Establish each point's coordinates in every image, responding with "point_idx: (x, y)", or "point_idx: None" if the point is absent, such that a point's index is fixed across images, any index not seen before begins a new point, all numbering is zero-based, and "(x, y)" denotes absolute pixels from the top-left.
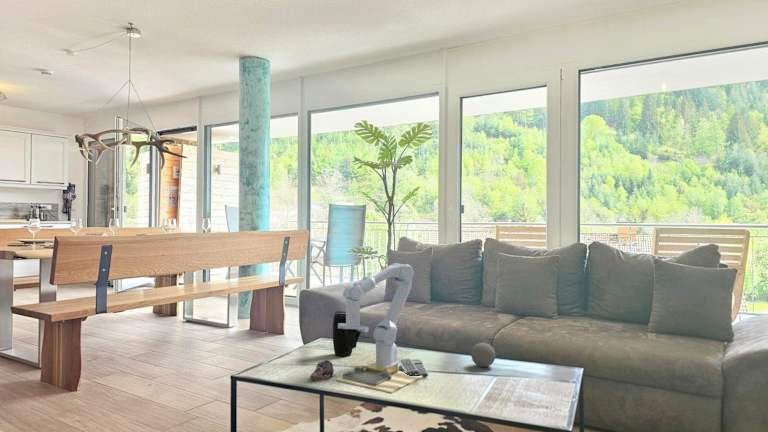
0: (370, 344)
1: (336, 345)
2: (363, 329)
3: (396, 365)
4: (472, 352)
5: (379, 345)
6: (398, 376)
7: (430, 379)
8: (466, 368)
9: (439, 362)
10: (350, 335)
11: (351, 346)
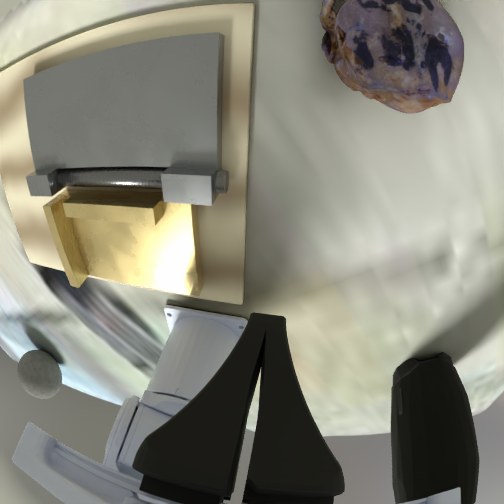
0: (365, 433)
1: (452, 387)
2: (37, 459)
3: (68, 277)
4: (38, 375)
5: (175, 397)
6: None
7: (17, 252)
8: (52, 344)
9: (113, 373)
10: (228, 436)
11: (263, 325)
